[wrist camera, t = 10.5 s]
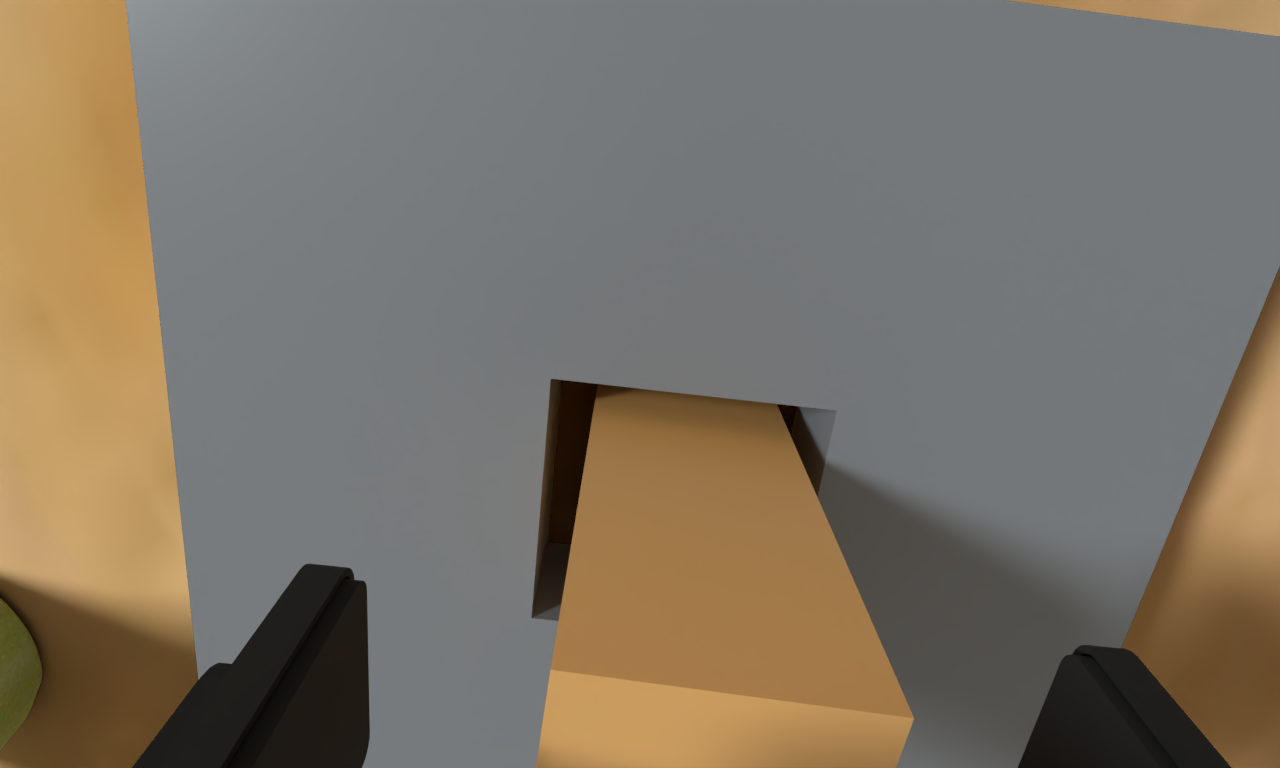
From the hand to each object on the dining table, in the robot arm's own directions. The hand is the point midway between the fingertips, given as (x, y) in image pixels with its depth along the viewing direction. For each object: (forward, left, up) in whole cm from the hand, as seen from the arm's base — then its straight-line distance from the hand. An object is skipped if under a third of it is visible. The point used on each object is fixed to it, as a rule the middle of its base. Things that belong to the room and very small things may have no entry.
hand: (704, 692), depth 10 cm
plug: (+1, 0, -8) cm, 8 cm away
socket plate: (+1, 0, -8) cm, 8 cm away
